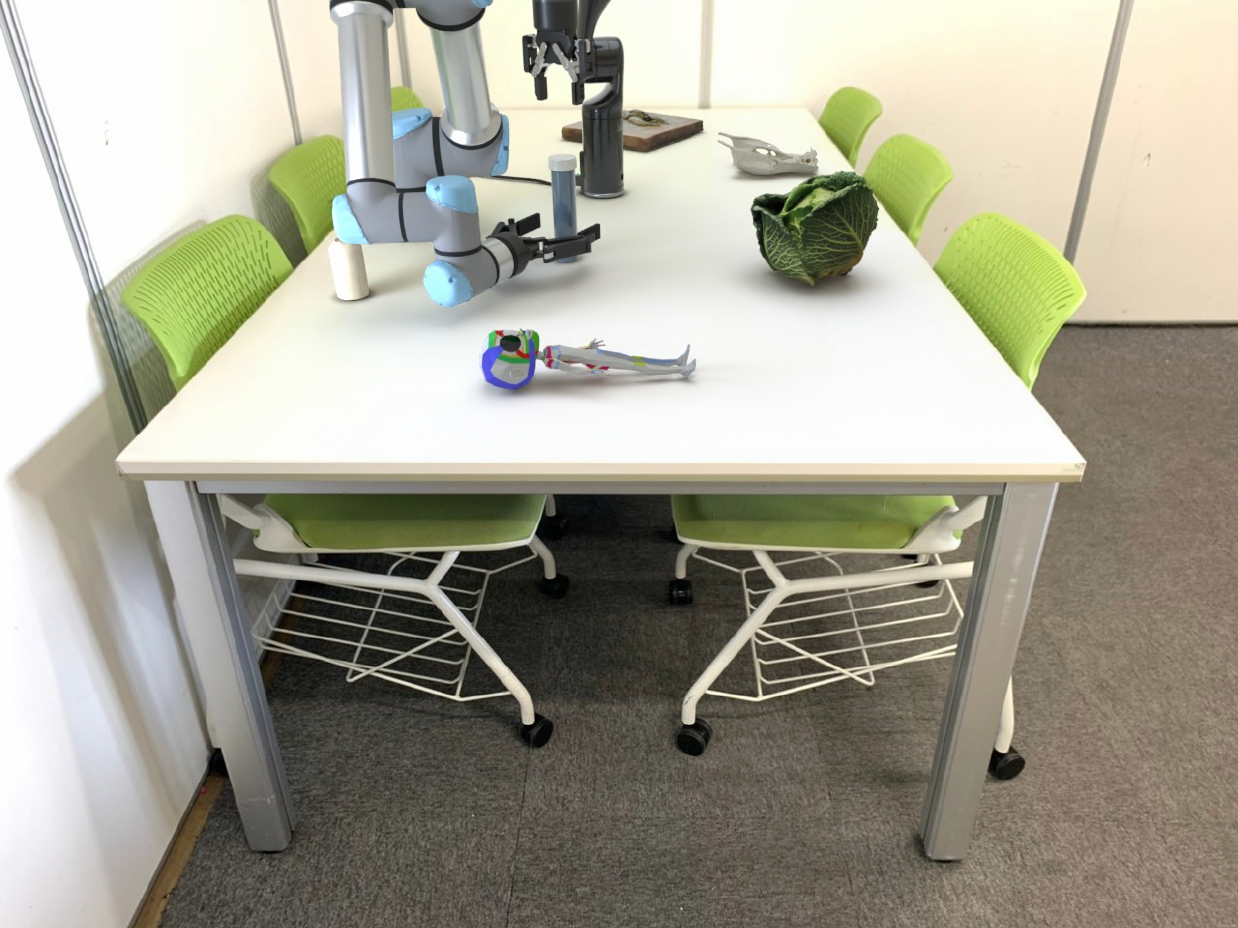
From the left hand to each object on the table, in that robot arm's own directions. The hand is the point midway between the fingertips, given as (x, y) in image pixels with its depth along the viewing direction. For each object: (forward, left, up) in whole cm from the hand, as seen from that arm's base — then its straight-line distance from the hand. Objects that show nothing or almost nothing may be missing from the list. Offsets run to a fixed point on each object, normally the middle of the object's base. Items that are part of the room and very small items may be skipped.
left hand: (568, 225), depth 168 cm
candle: (-23, -34, -7) cm, 42 cm away
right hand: (0, 0, +22) cm, 22 cm away
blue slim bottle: (0, 0, -7) cm, 7 cm away
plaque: (-42, +96, -7) cm, 104 cm away
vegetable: (+44, +12, -7) cm, 46 cm away
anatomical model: (+8, +76, -7) cm, 76 cm away
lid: (0, 0, +12) cm, 12 cm away
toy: (+31, -41, -7) cm, 52 cm away
